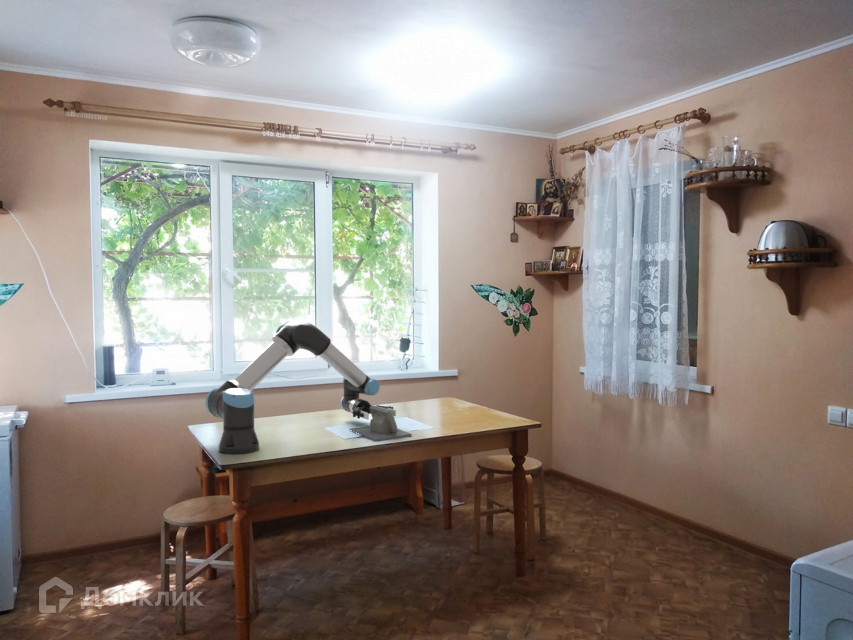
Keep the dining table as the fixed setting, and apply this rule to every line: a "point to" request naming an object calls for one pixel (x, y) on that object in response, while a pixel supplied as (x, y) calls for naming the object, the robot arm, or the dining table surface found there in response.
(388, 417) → the digital clock
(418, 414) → the dining table surface
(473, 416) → the dining table surface
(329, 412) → the dining table surface
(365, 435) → the docking pad
